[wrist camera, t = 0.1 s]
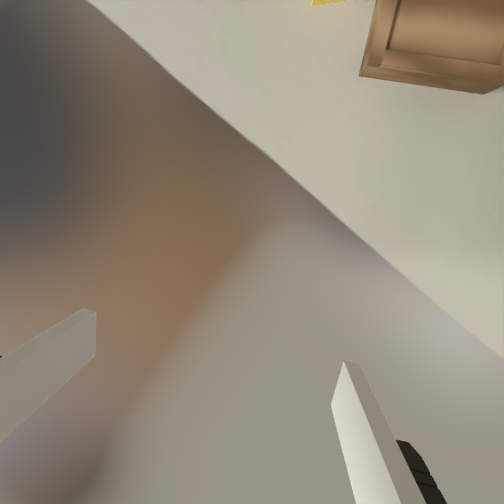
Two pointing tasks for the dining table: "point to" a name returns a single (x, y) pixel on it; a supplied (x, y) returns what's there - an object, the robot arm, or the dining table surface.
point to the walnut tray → (437, 44)
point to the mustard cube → (323, 2)
